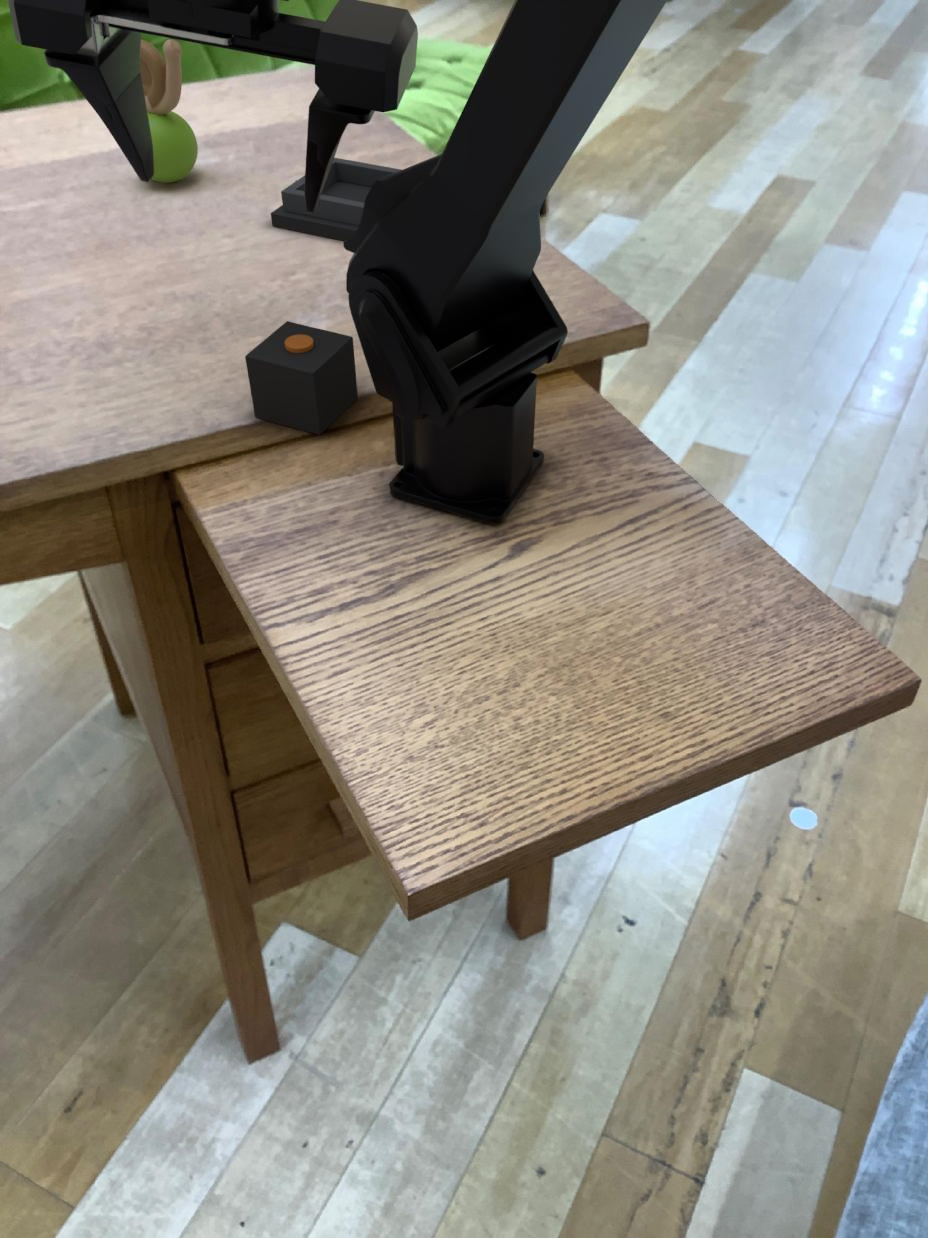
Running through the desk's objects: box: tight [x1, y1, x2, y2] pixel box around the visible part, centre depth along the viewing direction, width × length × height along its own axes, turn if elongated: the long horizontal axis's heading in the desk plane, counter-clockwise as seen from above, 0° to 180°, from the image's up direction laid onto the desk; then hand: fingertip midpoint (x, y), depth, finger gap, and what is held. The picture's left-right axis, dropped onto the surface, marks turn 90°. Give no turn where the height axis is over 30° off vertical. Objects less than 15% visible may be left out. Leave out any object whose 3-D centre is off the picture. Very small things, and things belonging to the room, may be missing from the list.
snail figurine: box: [140, 38, 199, 184], centre depth 81 cm, size 5×6×12 cm
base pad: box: [270, 157, 402, 242], centre depth 80 cm, size 9×9×2 cm
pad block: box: [244, 320, 359, 436], centre depth 59 cm, size 4×4×4 cm
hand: (230, 193), depth 57 cm, fingers open, 9 cm apart
